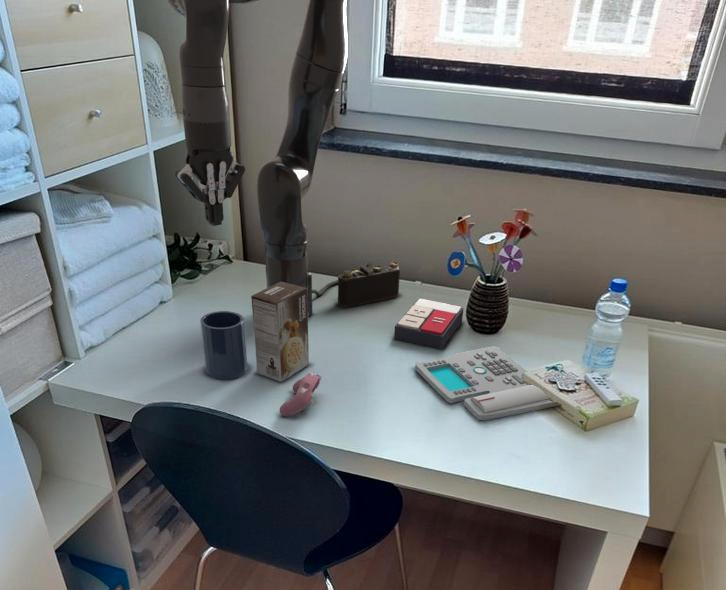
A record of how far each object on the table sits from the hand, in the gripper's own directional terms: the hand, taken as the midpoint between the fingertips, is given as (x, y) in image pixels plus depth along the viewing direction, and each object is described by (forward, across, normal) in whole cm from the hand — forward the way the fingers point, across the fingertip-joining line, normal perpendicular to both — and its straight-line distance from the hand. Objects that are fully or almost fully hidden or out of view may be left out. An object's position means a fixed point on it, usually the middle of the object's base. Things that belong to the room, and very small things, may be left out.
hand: (215, 224), depth 121 cm
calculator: (+26, +42, -17) cm, 52 cm away
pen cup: (+26, -3, -5) cm, 27 cm away
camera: (+26, +43, +6) cm, 51 cm away
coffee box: (+26, +6, -11) cm, 29 cm away
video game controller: (+26, 0, -24) cm, 36 cm away
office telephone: (+26, +33, -40) cm, 58 cm away
